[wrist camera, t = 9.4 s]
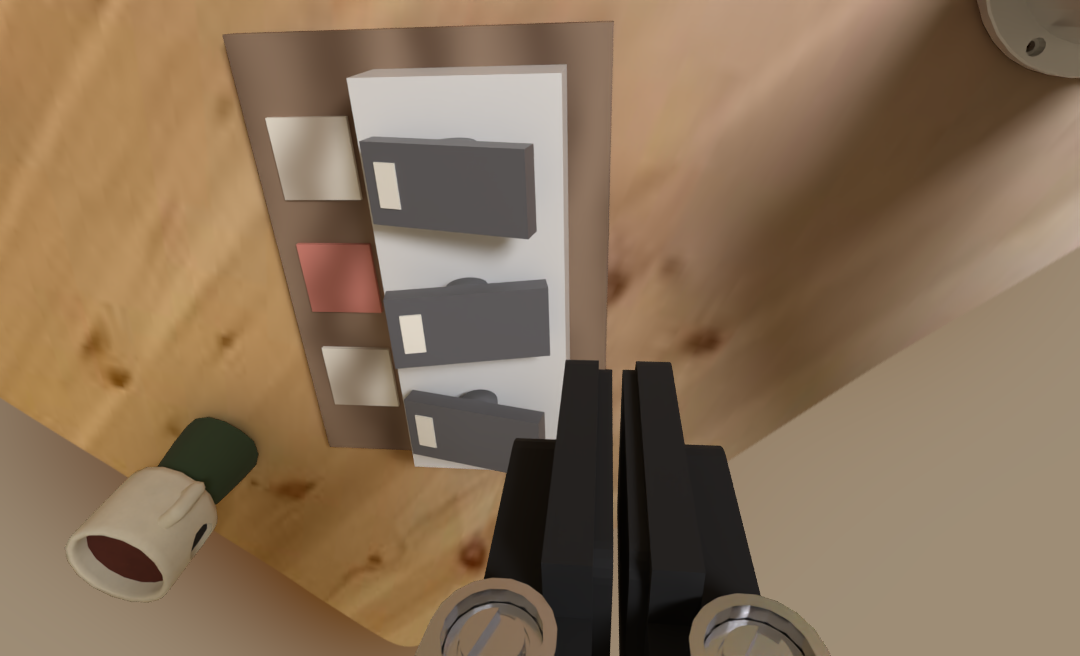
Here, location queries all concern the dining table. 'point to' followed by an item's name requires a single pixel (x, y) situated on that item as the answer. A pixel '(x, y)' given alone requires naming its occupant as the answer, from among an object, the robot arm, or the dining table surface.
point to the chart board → (342, 205)
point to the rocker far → (469, 427)
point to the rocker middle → (468, 322)
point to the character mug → (161, 514)
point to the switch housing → (441, 257)
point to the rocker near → (451, 185)
